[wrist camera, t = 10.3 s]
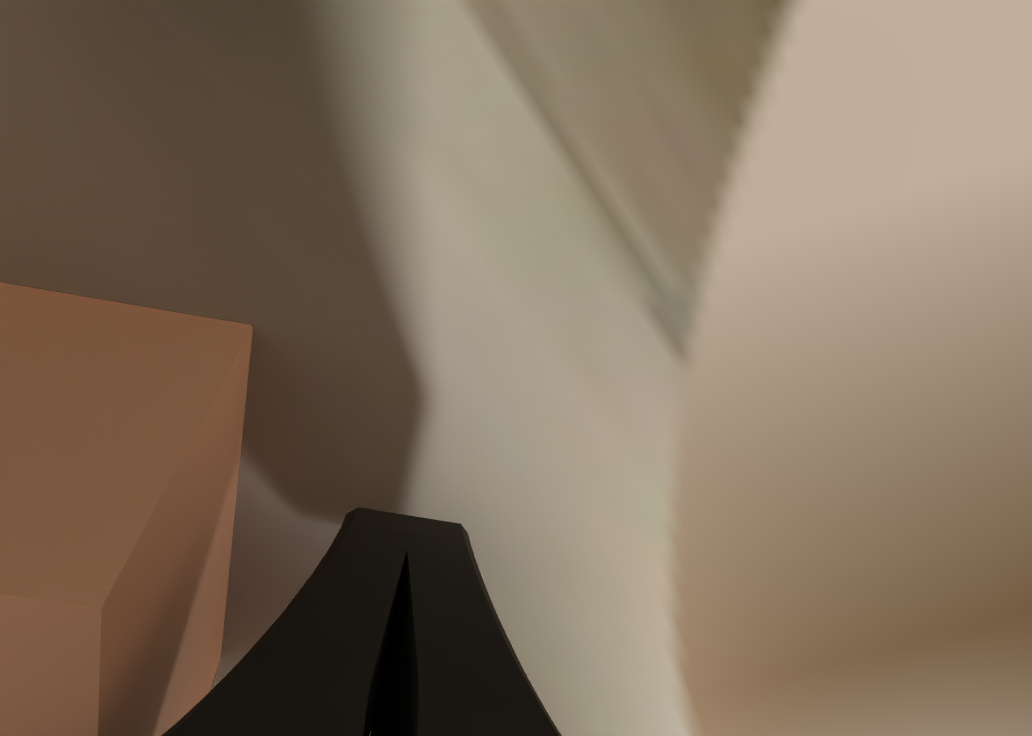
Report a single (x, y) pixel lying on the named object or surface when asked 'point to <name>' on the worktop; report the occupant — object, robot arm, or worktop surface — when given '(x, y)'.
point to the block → (113, 510)
